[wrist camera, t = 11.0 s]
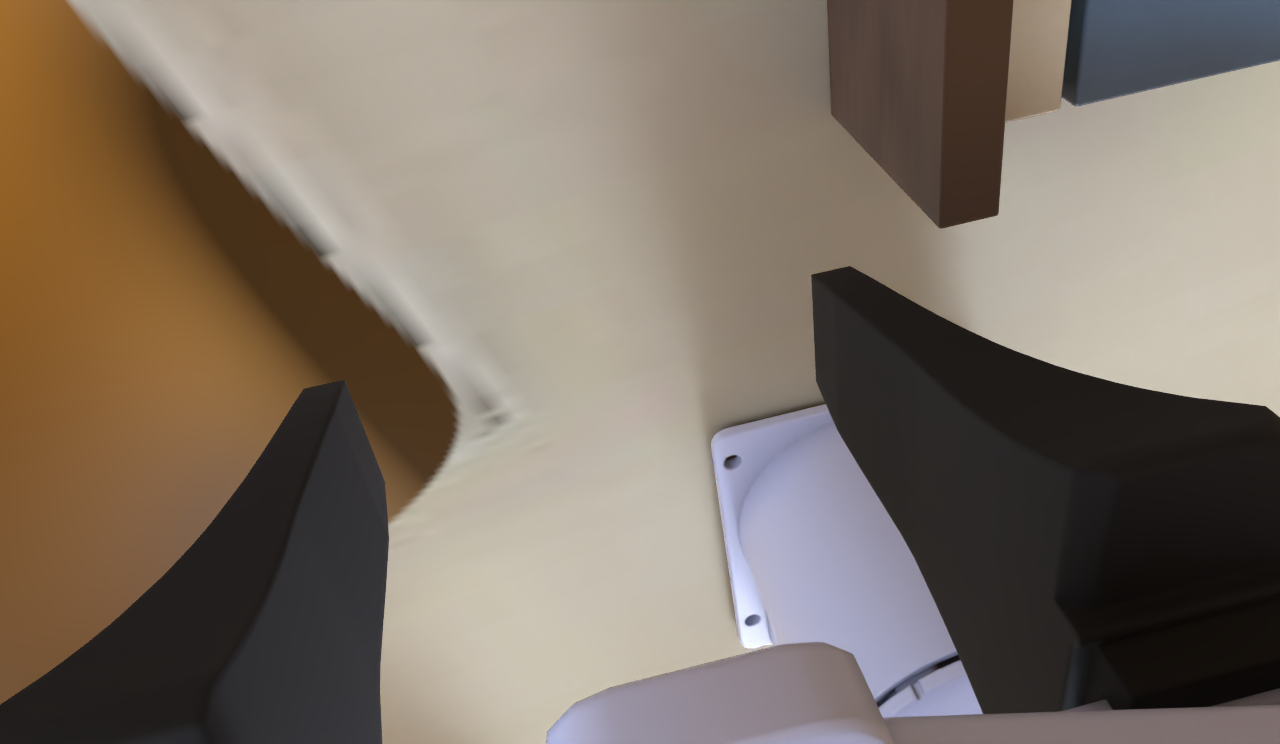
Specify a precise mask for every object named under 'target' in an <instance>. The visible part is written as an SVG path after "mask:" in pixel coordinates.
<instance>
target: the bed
mask: <svg viewBox="0 0 1280 744" xmlns="http://www.w3.org/2000/svg"><path fill="white" fill-rule="evenodd" d="M827 8H828V34H829V61H830V88H831V114H832V116H833V117H834V118H835V119H836V120H837V121H838V122H839V123H840V124H841V125H842V126H843V127H844V128H845V129H846V130H847V132H848V133H849V134H850V135H851V136H852V137H853V138H854V139H855V140H856V141H857V142H858V143H859V144H860V145H861V146H862V147H863V148H864V149H865V151H866V152H867V153H868V154H869V155H870V156H871V157H872V158H873V159H874V160H875V161H876V162H877V163H878V164H879V165H880V166H881V167H882V168H883V170H884V171H885V172H886V173H887V174H888V175H889V176H890V177H891V178H892V179H893V180H894V181H895V182H896V183H897V184H898V185H899V186H900V188H901V189H902V190H903V191H904V192H905V193H906V194H907V195H908V196H909V197H910V198H911V199H912V200H913V201H914V202H915V203H916V204H917V205H918V207H919V208H920V209H921V210H922V211H923V212H924V213H925V214H926V215H927V216H928V217H929V218H930V219H931V220H932V221H933V222H934V223H935V225H936V226H937V227H938V228H941V229H942V228H946V227H950V226H954V225H959V224H963V223H967V222H972V221H976V220H980V219H984V218H989V217H993V216H997V215H998V212H999V198H1000V183H1001V169H1002V155H1003V141H1004V127H1005V123H1006V122H1010V121H1015V120H1019V119H1024V118H1028V117H1032V116H1037V115H1041V114H1046V113H1050V112H1054V111H1058V110H1059V109H1060V105H1061V97H1062V98H1063V99H1065V100H1066V101H1068V102H1069V103H1071V104H1072V105H1074V106H1081V105H1085V104H1090V103H1094V102H1098V101H1103V100H1107V99H1112V98H1116V97H1120V96H1125V95H1129V94H1134V93H1138V92H1142V91H1147V90H1151V89H1155V88H1160V87H1164V86H1169V85H1173V84H1177V83H1182V82H1186V81H1191V80H1195V79H1199V78H1204V77H1208V76H1213V75H1217V74H1221V73H1226V72H1230V71H1235V70H1239V69H1243V68H1248V67H1252V66H1256V65H1261V64H1265V63H1270V62H1274V61H1278V60H1280V0H827Z"/></svg>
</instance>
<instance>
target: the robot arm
mask: <svg viewBox="0 0 1280 744" xmlns="http://www.w3.org/2000/svg"><path fill="white" fill-rule="evenodd" d="M811 277H812V299H813V321H814V344H815V366H816V382H817V384H818V386H819V389H820V391H821V394H822V396H823V398H824V401H825V403H826V404H823V405H819V406H815V407H811V408H807V409H803V410H799V411H795V412H791V413H786V414H782V415H778V416H774V417H770V418H766V419H762V420H758V421H754V422H750V423H746V424H741V425H737V426H733V427H729V428H725V429H723V430H721V431H719V432H718V433H716V434H715V435H714V437H713V439H712V440H711V450H712V457H713V464H714V471H715V478H716V485H717V492H718V499H719V506H720V513H721V520H722V527H723V534H724V541H725V548H726V555H727V563H728V570H729V577H730V584H731V591H732V598H733V605H734V612H735V619H736V626H737V633H738V637H739V640H740V643H741V645H742V646H744V647H745V648H750V649H753V648H758V647H762V646H766V645H770V644H773V647H769V648H765V649H761V650H757V651H753V652H749V653H745V654H741V655H737V656H733V657H729V658H725V659H721V660H717V661H713V662H709V663H705V664H701V665H697V666H693V667H689V668H685V669H681V670H677V671H673V672H669V673H665V674H661V675H658V676H654V677H650V678H646V679H642V680H638V681H634V682H630V683H626V684H622V685H618V686H614V687H610V688H608V689H605V690H603V691H601V692H598V693H596V694H594V695H592V696H589V697H587V698H585V699H582V700H580V701H578V702H576V703H574V704H573V705H572V706H571V707H570V708H569V709H568V710H567V711H566V712H565V713H564V714H563V715H562V716H561V718H560V719H559V720H558V721H557V722H556V723H555V724H554V725H553V726H552V727H551V728H550V729H549V730H548V731H547V740H546V744H1280V417H1278V416H1277V415H1276V414H1275V413H1274V412H1272V411H1271V410H1270V409H1268V408H1267V407H1266V406H1259V405H1250V404H1242V403H1233V402H1225V401H1216V400H1207V399H1199V398H1191V397H1185V396H1179V395H1174V394H1169V393H1163V392H1158V391H1152V390H1147V389H1142V388H1137V387H1133V386H1128V385H1124V384H1119V383H1115V382H1111V381H1108V380H1104V379H1100V378H1096V377H1093V376H1089V375H1085V374H1082V373H1078V372H1074V371H1071V370H1068V369H1065V368H1062V367H1058V366H1055V365H1052V364H1049V363H1047V362H1044V361H1041V360H1038V359H1036V358H1033V357H1030V356H1027V355H1024V354H1022V353H1019V352H1016V351H1014V350H1011V349H1009V348H1006V347H1004V346H1001V345H999V344H997V343H995V342H992V341H990V340H988V339H986V338H984V337H981V336H979V335H977V334H975V333H973V332H970V331H968V330H966V329H964V328H962V327H960V326H958V325H956V324H954V323H952V322H950V321H948V320H946V319H944V318H942V317H940V316H938V315H936V314H935V313H933V312H931V311H929V310H927V309H925V308H923V307H922V306H920V305H918V304H916V303H914V302H913V301H911V300H909V299H907V298H906V297H904V296H902V295H900V294H899V293H897V292H895V291H893V290H892V289H890V288H888V287H886V286H885V285H883V284H881V283H879V282H878V281H876V280H874V279H872V278H871V277H869V276H867V275H865V274H864V273H862V272H860V271H858V270H856V269H854V268H852V267H850V266H848V267H844V268H839V269H835V270H831V271H826V272H822V273H817V274H813V275H811ZM731 455H737V456H736V457H735V458H734V459H732V460H726V461H725V459H726V458H727V457H729V456H731ZM388 545H389V533H388V517H387V504H386V492H385V481H384V478H383V476H382V473H381V471H380V468H379V466H378V463H377V461H376V458H375V456H374V453H373V451H372V448H371V446H370V443H369V441H368V438H367V435H366V433H365V430H364V428H363V425H362V423H361V420H360V418H359V415H358V412H357V410H356V407H355V405H354V402H353V400H352V397H351V395H350V392H349V390H348V387H347V385H346V382H345V380H342V381H337V382H332V383H328V384H323V385H319V386H315V387H310V388H306V389H303V391H302V393H301V394H300V395H299V397H298V399H297V400H296V401H295V403H294V404H293V406H292V407H291V409H290V411H289V412H288V414H287V416H286V417H285V418H284V420H283V422H282V423H281V425H280V426H279V428H278V429H277V431H276V433H275V434H274V436H273V437H272V439H271V440H270V442H269V443H268V445H267V447H266V448H265V450H264V451H263V453H262V454H261V456H260V457H259V459H258V460H257V461H256V463H255V464H254V466H253V467H252V469H251V470H250V472H249V473H248V475H247V476H246V478H245V479H244V481H243V482H242V483H241V485H240V486H239V487H238V489H237V490H236V491H235V493H234V494H233V495H232V497H231V498H230V499H229V501H228V502H227V503H226V504H225V506H224V507H223V508H222V510H221V511H220V512H219V514H218V515H217V517H216V518H215V519H214V520H213V521H212V523H211V524H210V525H209V526H208V527H207V529H206V530H205V531H204V532H203V533H202V535H201V536H200V537H199V538H198V539H197V540H196V542H195V543H194V544H193V545H192V546H191V547H190V548H189V549H188V550H187V551H186V552H185V553H184V555H183V556H182V557H181V558H180V559H179V560H178V561H177V562H176V563H175V564H174V565H173V566H172V567H171V568H170V569H169V571H167V573H166V574H165V575H164V576H163V577H162V578H161V579H159V580H158V581H157V582H156V583H155V584H154V585H153V586H152V587H151V588H150V589H149V590H147V591H146V592H145V593H144V594H143V595H142V596H141V597H140V598H139V599H138V600H137V601H136V602H135V603H133V604H132V605H131V606H130V607H129V608H128V609H127V610H126V611H125V612H124V613H123V614H122V615H120V617H118V618H117V619H116V620H115V621H114V622H112V623H111V624H110V625H109V626H108V627H106V628H105V629H104V630H103V631H101V632H100V633H99V634H98V635H97V636H95V637H94V638H93V639H92V640H90V641H89V642H88V643H87V644H85V645H84V646H83V647H81V648H80V649H79V650H77V651H76V652H75V653H74V654H72V655H71V656H70V657H68V658H67V659H66V660H64V661H63V662H62V663H61V664H59V665H58V666H56V667H55V668H53V669H52V670H51V671H49V672H48V673H47V674H45V675H44V676H42V677H41V678H39V679H38V680H36V681H35V682H33V683H32V684H31V685H29V686H28V687H26V688H25V689H23V690H21V691H20V692H19V693H17V694H15V695H14V696H12V697H11V698H10V699H8V700H7V701H5V702H4V703H2V704H1V705H0V744H382V727H381V705H380V661H381V647H382V633H383V619H384V605H385V592H386V577H387V562H388ZM750 615H752V616H750Z"/></svg>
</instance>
